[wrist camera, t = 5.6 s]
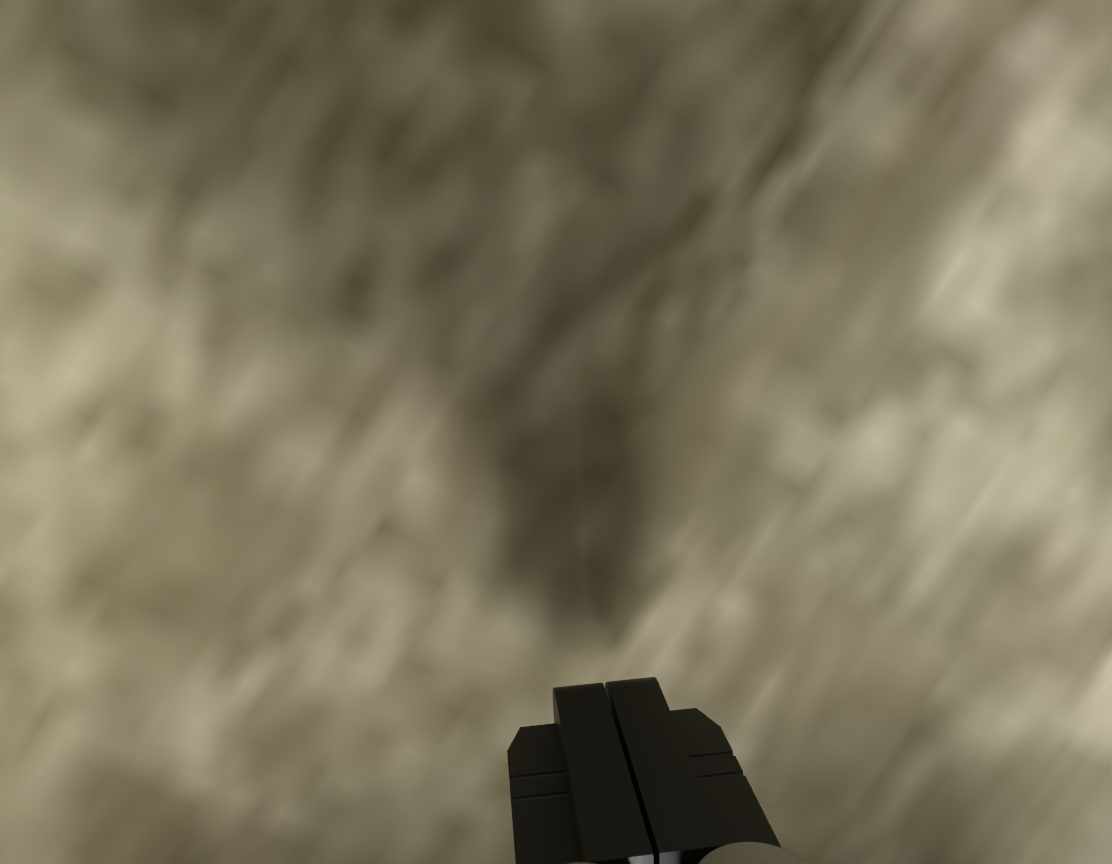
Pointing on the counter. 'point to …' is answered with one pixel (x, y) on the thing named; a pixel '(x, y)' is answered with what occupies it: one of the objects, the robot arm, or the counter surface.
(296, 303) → the counter surface
